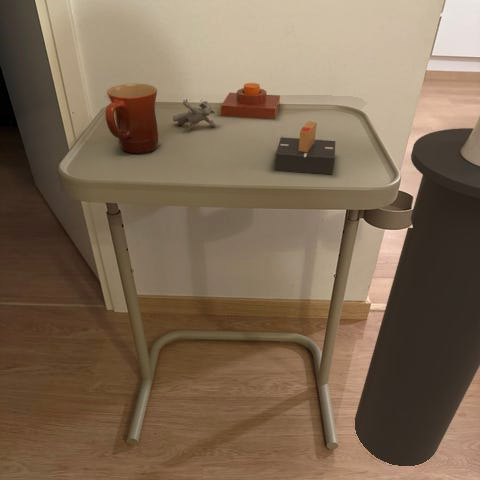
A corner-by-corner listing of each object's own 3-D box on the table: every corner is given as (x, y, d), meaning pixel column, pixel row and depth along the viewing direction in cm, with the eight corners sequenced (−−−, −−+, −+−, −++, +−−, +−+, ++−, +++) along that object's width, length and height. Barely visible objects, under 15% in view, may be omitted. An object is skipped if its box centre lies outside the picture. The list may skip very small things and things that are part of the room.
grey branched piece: (194, 118, 102) (226, 110, 96) (190, 144, 101) (222, 137, 96) (161, 94, 94) (194, 84, 88) (157, 123, 93) (190, 113, 88)
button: (260, 91, 105) (260, 83, 104) (258, 96, 102) (258, 87, 101) (244, 90, 105) (245, 82, 104) (242, 95, 103) (242, 86, 101)
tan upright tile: (305, 141, 84) (308, 119, 81) (314, 142, 83) (317, 121, 81) (298, 151, 80) (300, 129, 78) (307, 152, 80) (309, 130, 77)
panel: (333, 155, 86) (335, 138, 84) (332, 176, 80) (335, 158, 78) (279, 152, 88) (281, 135, 86) (274, 171, 81) (275, 154, 79)
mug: (134, 136, 93) (126, 81, 86) (171, 144, 90) (166, 87, 83) (96, 158, 85) (84, 98, 78) (136, 166, 82) (127, 105, 75)
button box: (279, 105, 109) (280, 86, 106) (274, 119, 102) (275, 99, 99) (229, 102, 111) (229, 84, 108) (221, 115, 103) (220, 96, 100)
